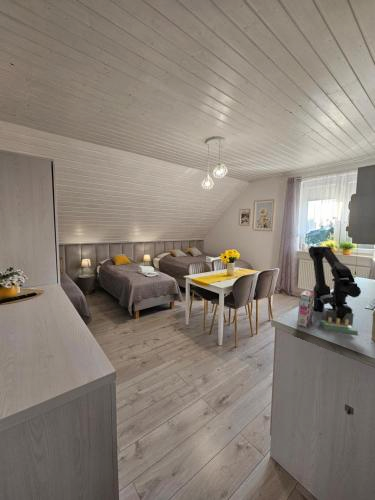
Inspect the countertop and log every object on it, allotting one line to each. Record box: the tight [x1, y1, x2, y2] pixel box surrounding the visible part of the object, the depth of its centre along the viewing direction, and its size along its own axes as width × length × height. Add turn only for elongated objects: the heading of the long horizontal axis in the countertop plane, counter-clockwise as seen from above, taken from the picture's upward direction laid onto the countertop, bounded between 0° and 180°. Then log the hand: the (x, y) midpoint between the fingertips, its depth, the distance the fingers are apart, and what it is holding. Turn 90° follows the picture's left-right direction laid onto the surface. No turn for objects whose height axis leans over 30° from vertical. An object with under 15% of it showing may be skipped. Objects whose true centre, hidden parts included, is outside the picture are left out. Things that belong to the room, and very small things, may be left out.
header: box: [319, 317, 359, 335], centre depth 110 cm, size 8×14×5 cm, turn 73°
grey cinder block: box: [322, 307, 354, 326], centre depth 118 cm, size 5×12×6 cm, turn 73°
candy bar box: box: [296, 289, 314, 329], centre depth 115 cm, size 11×5×16 cm, turn 141°
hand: (337, 319), depth 118 cm, fingers closed on grey cinder block, 5 cm apart
